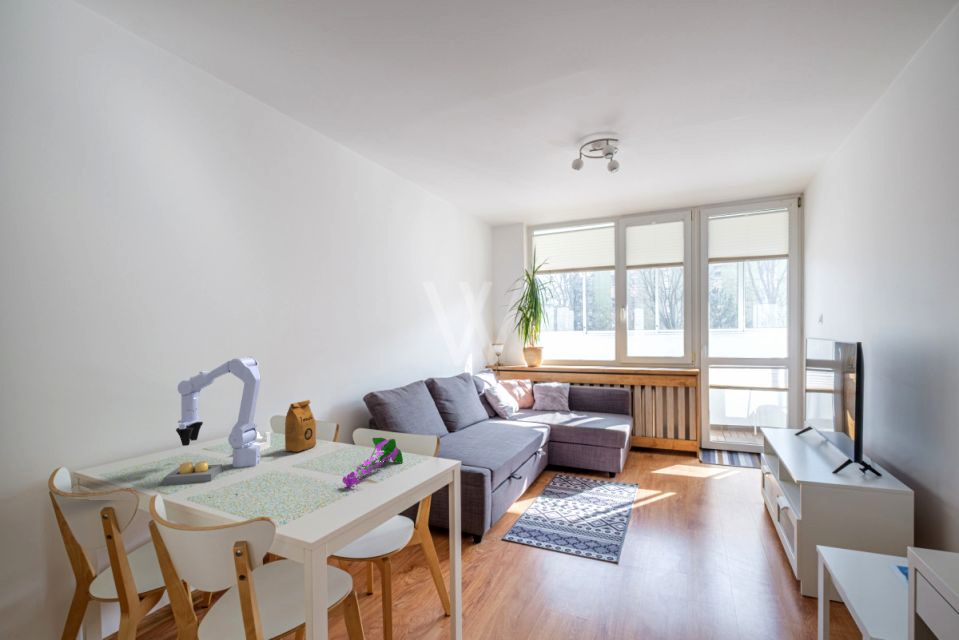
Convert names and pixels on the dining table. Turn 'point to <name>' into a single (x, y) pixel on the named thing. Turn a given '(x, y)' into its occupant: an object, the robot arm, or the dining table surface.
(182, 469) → the yellow oval lump
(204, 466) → the yellow potato
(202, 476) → the grey tray
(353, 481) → the purple green flared piece
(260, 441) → the bracket
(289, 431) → the coffee package
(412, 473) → the dining table surface
